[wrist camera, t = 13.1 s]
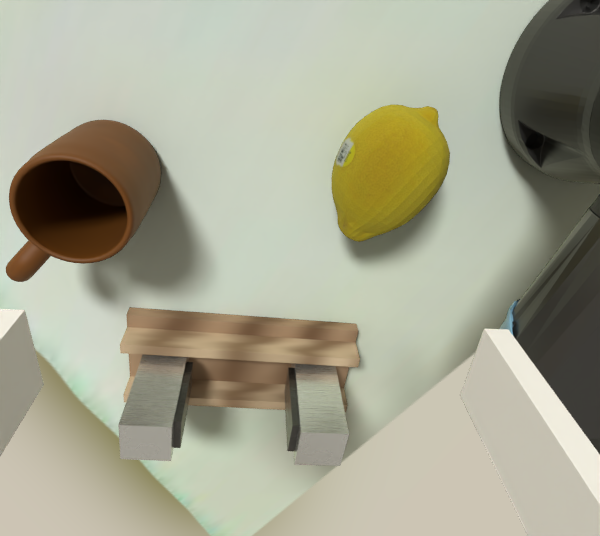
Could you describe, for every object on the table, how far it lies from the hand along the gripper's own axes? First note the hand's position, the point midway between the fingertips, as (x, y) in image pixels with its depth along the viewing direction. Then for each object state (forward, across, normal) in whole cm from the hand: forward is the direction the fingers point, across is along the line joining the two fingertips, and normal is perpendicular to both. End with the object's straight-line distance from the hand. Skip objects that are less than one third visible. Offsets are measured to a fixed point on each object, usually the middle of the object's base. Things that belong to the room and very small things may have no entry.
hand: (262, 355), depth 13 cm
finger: (+25, +5, -23) cm, 34 cm away
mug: (+26, -14, -5) cm, 30 cm away
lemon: (+26, +9, -1) cm, 28 cm away
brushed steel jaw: (+25, -9, -22) cm, 34 cm away
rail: (+26, -2, -22) cm, 34 cm away
